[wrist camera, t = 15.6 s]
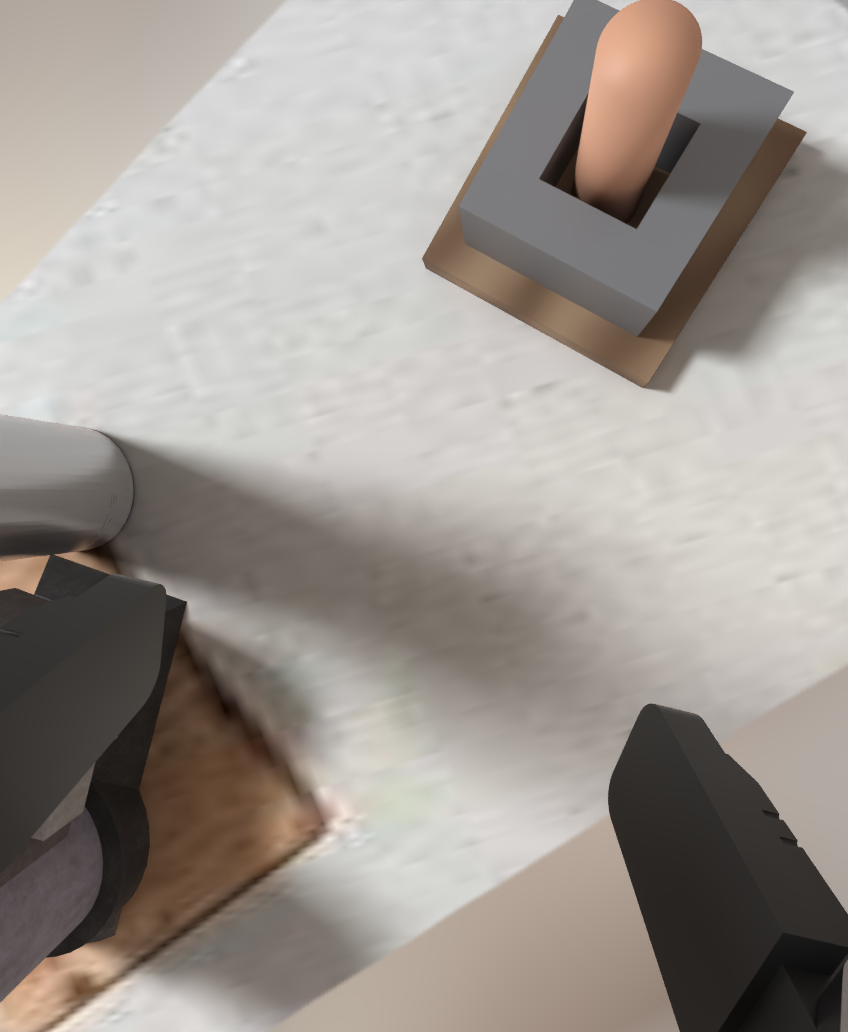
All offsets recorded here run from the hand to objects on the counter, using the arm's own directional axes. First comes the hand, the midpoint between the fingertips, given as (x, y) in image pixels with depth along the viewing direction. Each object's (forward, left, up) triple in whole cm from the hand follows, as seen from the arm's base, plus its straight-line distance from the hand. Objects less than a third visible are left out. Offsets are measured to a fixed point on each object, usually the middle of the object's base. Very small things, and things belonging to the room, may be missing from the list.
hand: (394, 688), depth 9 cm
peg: (-5, +21, -26) cm, 34 cm away
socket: (-5, +22, -26) cm, 34 cm away
